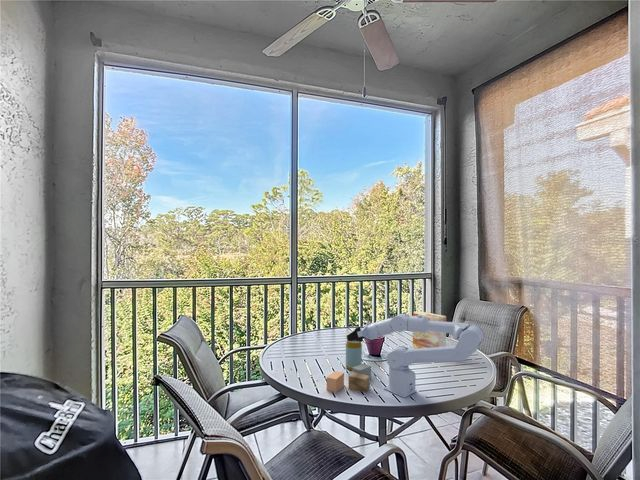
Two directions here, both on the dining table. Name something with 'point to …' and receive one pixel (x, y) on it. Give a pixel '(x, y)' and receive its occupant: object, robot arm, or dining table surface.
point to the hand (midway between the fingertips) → (352, 337)
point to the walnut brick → (359, 382)
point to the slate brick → (362, 369)
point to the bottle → (353, 353)
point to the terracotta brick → (335, 381)
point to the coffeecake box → (429, 333)
